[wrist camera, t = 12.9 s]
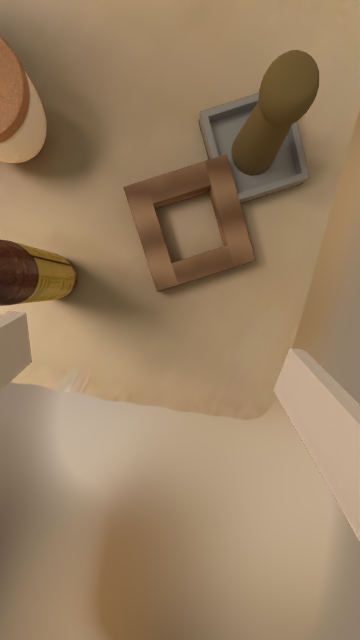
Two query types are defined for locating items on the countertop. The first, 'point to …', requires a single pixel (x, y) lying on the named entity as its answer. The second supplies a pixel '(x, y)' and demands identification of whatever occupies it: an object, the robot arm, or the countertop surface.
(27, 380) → the countertop surface
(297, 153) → the tray
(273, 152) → the olive brown bulbous peg
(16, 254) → the sauce bottle
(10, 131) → the lidded jar
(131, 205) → the socket block
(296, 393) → the robot arm
